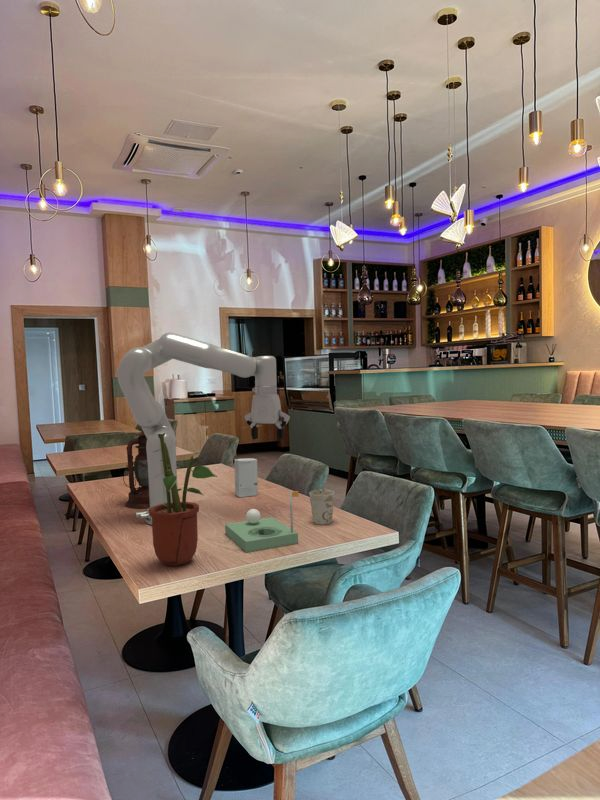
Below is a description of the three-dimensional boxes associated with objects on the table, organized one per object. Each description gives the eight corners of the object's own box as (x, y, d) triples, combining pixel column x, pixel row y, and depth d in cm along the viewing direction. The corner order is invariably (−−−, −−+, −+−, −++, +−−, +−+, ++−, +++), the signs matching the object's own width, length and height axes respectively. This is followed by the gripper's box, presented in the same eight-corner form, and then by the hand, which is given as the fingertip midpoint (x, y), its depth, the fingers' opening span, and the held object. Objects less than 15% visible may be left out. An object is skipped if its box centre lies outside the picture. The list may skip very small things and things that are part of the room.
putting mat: (246, 552, 155) (244, 499, 154) (225, 533, 173) (223, 486, 172) (302, 542, 162) (301, 492, 161) (276, 525, 180) (275, 480, 179)
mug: (317, 527, 177) (317, 496, 176) (299, 518, 188) (298, 489, 188) (340, 523, 181) (339, 493, 180) (321, 514, 192) (320, 486, 191)
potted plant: (155, 574, 140) (149, 437, 138) (146, 556, 154) (140, 431, 152) (222, 563, 147) (217, 432, 145) (207, 546, 161) (203, 427, 159)
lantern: (159, 494, 230) (156, 423, 228) (184, 501, 216) (181, 425, 214) (116, 503, 216) (112, 427, 215) (140, 511, 203) (136, 430, 201)
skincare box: (238, 497, 220) (237, 461, 219) (234, 494, 226) (233, 458, 225) (258, 495, 223) (257, 459, 222) (254, 492, 229) (253, 456, 228)
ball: (248, 526, 170) (248, 511, 169) (244, 522, 174) (243, 508, 173) (263, 524, 171) (262, 509, 171) (257, 520, 176) (257, 506, 175)
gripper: (239, 391, 194) (240, 440, 195) (284, 391, 188) (285, 441, 189) (249, 390, 201) (250, 437, 202) (292, 390, 195) (294, 438, 196)
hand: (267, 439), depth 196 cm, fingers open, 9 cm apart
